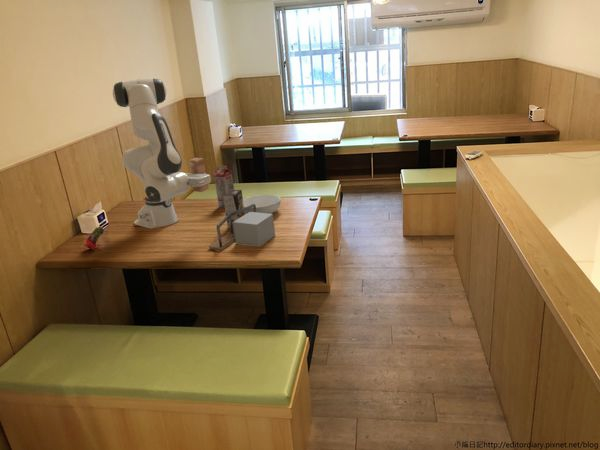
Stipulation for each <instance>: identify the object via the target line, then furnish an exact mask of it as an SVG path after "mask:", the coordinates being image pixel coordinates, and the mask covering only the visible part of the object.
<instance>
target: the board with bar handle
mask: <svg viewBox="0 0 600 450" xmlns="http://www.w3.org/2000/svg"><path fill="white" fill-rule="evenodd" d="M252 207H253V208H254V212H257V211H256V205H255V204H252V205H249V206H247V207H244V208H242V209H239V210H236V211H234V212H231V213H229V214H228V215H227V216H226V215H225V217H224V218H223V219H222V220H221V221H220V222H218V224H217V225H216V232H217V238H218V239H217V240H216V241H215V242H213V243H211V244H210V245H208V249H209V250H211V251H218V252H221V251H223V250H224V249H226V248H227V247H229V246H230V245H232V244H233V243H236V239H235V232H234V228H233V224H232V217H231V216H232V215H234V214H237V213H239V212H242V211H244V210H247V209H250V208H252ZM228 218H229V222H230V228H229V229H230V232H229V233H227V234H226V235H223V236H222V233H221V227H222V226H223V225H224V224H225V222H227V219H228Z"/></svg>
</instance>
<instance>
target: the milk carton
mask: <svg viewBox="0 0 600 450" xmlns="http://www.w3.org/2000/svg"><path fill="white" fill-rule="evenodd" d="M227 167H228V166H227V165H216V169H215V170H214V171H213V177H214V178H213V179H214V184H215V191H216V197H217V203H218V208H224V209H225V205H224V198H223V196H224V195H225V194H226V193H227V192H228V191H229V190H235V185H234V179H233V172H232V171H233V170H231V169H228V168H227Z"/></svg>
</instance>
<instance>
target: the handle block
mask: <svg viewBox="0 0 600 450" xmlns="http://www.w3.org/2000/svg"><path fill="white" fill-rule="evenodd" d="M188 164H189V168H190V169H189V170H190V173H194V174H202V173H207V171H206V165H205V159H204V157H194V158H192V159H189V160H188ZM192 187H193V192H199V193H200V192H201V193H203V192H205V191H207V190H209V184H207V185H204V186H200V187H195V186H192Z"/></svg>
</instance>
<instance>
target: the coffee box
mask: <svg viewBox="0 0 600 450" xmlns="http://www.w3.org/2000/svg"><path fill="white" fill-rule="evenodd" d="M223 198H224V205H225V208H224V210H225V212H224V213H225V217H226V216H227V215H228V214H229V213H231V212H234V211H236V210H239V209H242V208H244V205H243V199H244V198H243V192H242V189H234V190H229V191H228V192H227V193H226V194H225V195H224V196H223ZM244 215H245V212H244V211H242V212H239V213H237V214H234V215H232V216H231V217H232V224H233V222H234V221H235V220H237V219H239V218H240V217H242V216H244ZM226 225H227V228H228V229H230V222H229V218H228V219H227V220H226ZM233 229H234V226H233Z"/></svg>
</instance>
